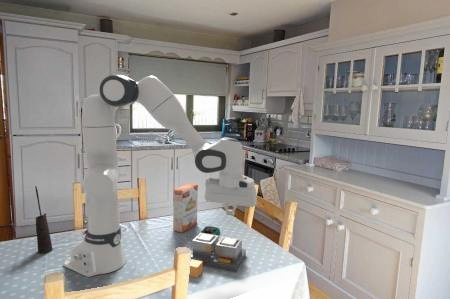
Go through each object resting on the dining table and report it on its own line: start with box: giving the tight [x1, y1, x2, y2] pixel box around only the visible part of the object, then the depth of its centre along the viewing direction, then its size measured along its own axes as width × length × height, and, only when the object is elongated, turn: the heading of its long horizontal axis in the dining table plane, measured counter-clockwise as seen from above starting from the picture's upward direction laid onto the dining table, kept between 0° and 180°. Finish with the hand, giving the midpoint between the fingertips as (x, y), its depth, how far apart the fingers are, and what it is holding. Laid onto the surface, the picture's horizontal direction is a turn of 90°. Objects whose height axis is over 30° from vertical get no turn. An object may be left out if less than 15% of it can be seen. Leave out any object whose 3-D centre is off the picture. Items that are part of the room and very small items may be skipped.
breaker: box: [198, 234, 214, 243], centre depth 126 cm, size 5×5×3 cm
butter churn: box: [34, 185, 54, 254], centre depth 128 cm, size 9×10×28 cm
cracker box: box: [172, 183, 199, 233], centre depth 154 cm, size 14×6×21 cm, turn 155°
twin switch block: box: [190, 232, 247, 273], centre depth 124 cm, size 20×14×8 cm
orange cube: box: [189, 259, 204, 278], centre depth 114 cm, size 4×4×4 cm
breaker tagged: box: [221, 236, 238, 247], centre depth 122 cm, size 5×5×3 cm
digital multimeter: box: [193, 226, 221, 239], centre depth 144 cm, size 8×16×3 cm, turn 162°
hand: (230, 214), depth 121 cm, fingers closed
